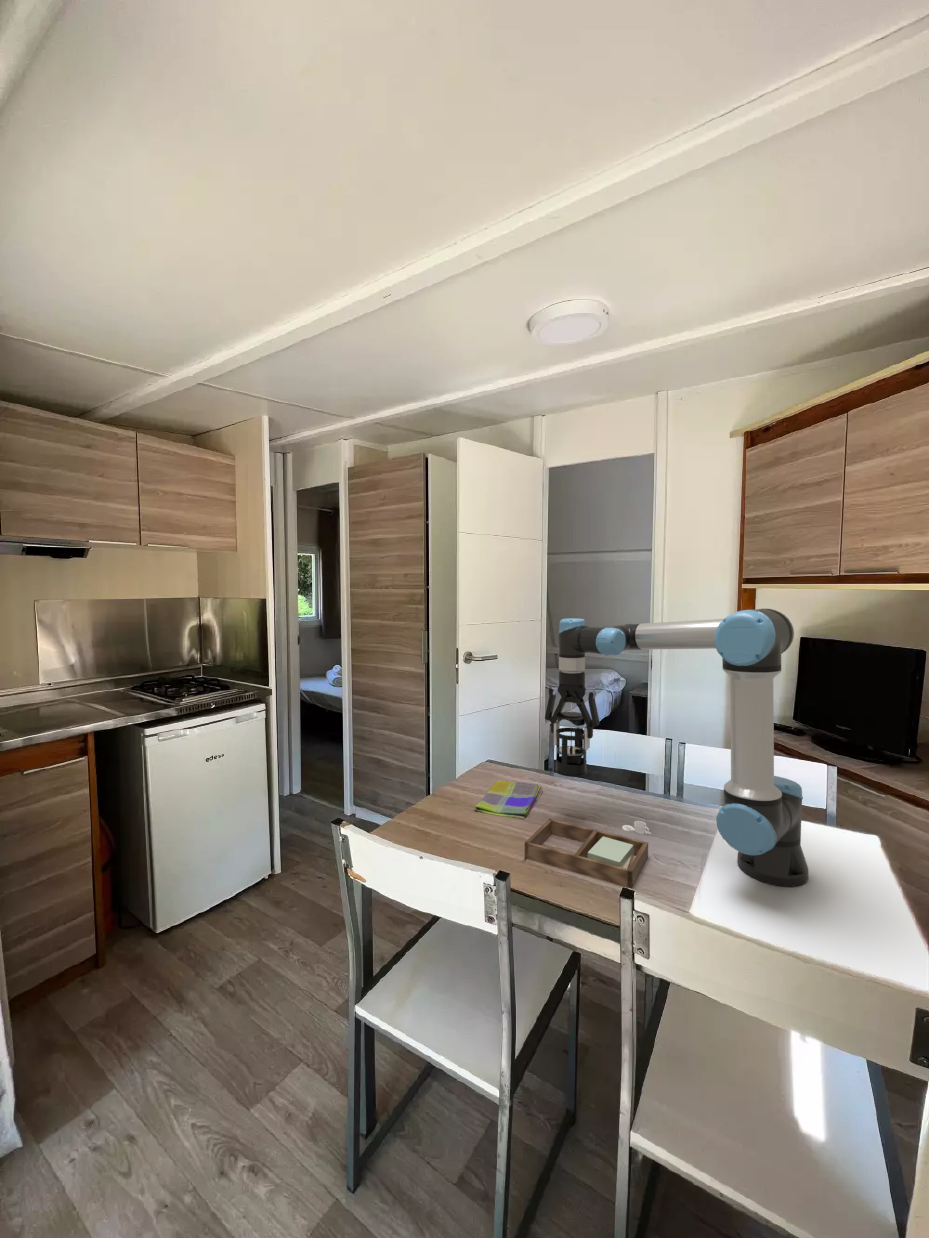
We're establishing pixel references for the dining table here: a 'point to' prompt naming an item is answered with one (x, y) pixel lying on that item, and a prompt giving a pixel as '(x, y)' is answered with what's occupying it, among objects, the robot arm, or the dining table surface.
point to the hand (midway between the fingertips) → (571, 746)
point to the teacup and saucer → (637, 827)
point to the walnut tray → (584, 853)
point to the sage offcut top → (611, 851)
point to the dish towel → (510, 799)
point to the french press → (571, 746)
